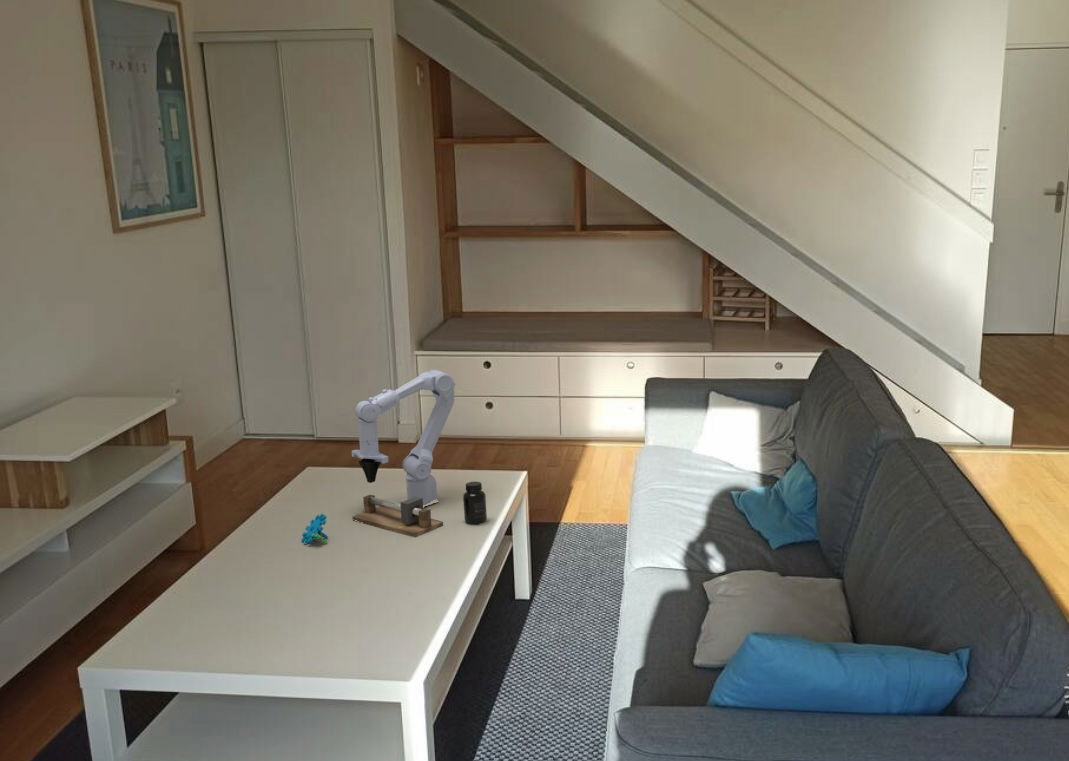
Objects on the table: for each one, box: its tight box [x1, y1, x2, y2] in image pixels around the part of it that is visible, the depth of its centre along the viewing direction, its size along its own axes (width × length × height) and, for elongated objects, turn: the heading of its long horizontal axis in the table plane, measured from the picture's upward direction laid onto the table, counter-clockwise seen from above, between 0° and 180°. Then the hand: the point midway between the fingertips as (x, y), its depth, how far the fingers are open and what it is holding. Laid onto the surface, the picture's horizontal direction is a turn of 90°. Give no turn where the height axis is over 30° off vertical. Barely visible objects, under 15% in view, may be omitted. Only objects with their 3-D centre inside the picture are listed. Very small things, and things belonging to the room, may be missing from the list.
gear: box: [301, 513, 329, 545], centre depth 293 cm, size 11×6×10 cm
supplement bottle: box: [462, 481, 488, 526], centre depth 303 cm, size 7×7×12 cm
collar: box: [399, 497, 424, 525], centre depth 300 cm, size 6×3×6 cm, turn 142°
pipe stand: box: [351, 494, 444, 538], centre depth 305 cm, size 12×27×6 cm, turn 52°
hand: (371, 481), depth 313 cm, fingers closed
